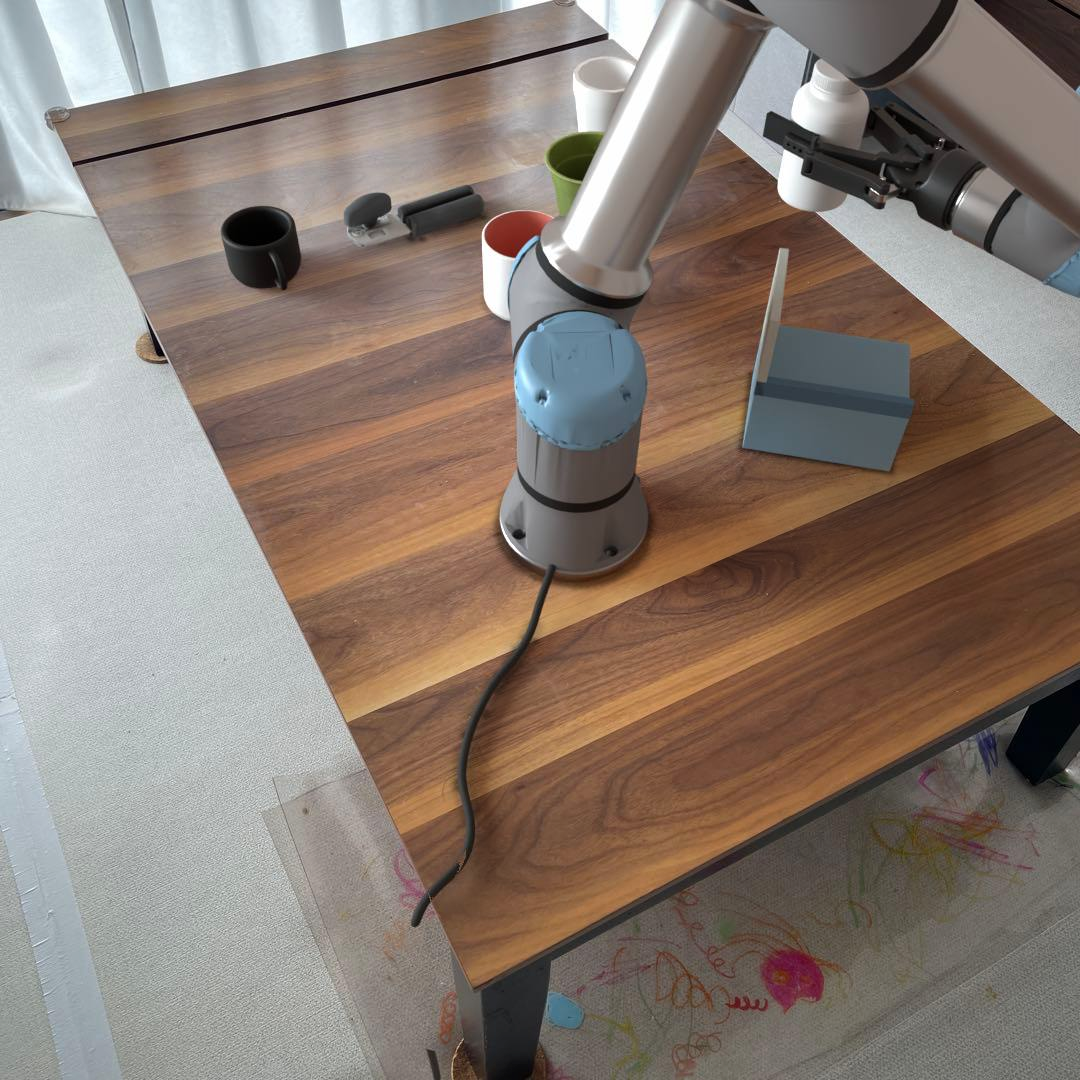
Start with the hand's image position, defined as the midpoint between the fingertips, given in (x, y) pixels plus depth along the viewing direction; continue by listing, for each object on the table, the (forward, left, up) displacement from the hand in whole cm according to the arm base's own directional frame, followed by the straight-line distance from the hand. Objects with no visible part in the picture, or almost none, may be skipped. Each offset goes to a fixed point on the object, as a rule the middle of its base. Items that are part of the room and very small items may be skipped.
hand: (791, 109), depth 122 cm
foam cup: (+23, +24, -24) cm, 41 cm away
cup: (-10, +28, -24) cm, 38 cm away
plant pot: (+6, +23, -24) cm, 34 cm away
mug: (-13, +60, -24) cm, 66 cm away
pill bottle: (-3, -4, -8) cm, 10 cm away
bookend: (-23, -9, -24) cm, 34 cm away
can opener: (+1, +45, -24) cm, 51 cm away
